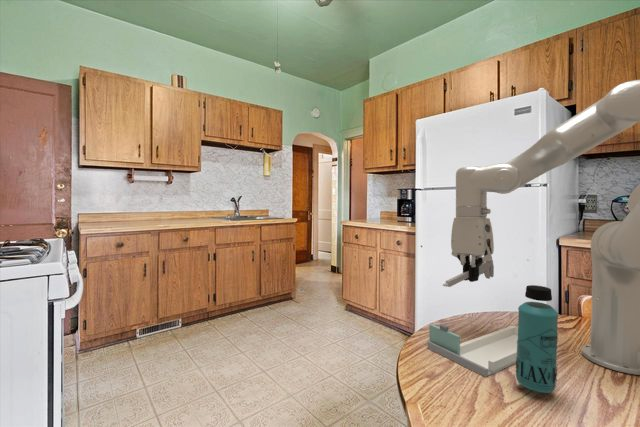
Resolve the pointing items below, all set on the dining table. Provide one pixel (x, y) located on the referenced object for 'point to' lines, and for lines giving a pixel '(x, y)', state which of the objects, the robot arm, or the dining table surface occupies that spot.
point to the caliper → (485, 268)
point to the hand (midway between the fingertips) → (470, 280)
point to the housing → (485, 351)
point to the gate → (444, 338)
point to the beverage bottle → (537, 342)
